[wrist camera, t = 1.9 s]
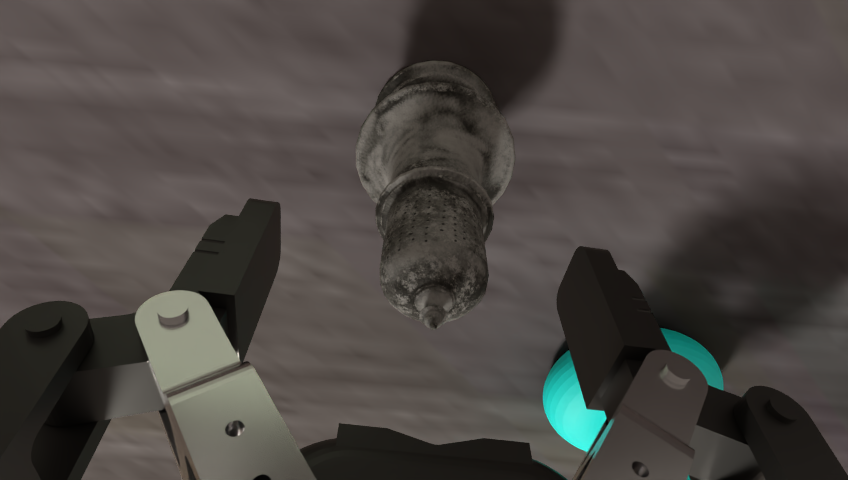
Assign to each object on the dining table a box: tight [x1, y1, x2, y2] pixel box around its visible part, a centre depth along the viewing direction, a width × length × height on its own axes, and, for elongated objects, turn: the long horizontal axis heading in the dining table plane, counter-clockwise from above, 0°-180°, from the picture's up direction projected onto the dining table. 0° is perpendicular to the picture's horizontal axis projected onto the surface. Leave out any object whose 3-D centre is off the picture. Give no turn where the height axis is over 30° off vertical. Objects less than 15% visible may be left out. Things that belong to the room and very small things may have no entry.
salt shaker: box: [356, 60, 515, 330], centre depth 17 cm, size 6×6×12 cm
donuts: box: [543, 328, 723, 480], centre depth 27 cm, size 10×10×10 cm
